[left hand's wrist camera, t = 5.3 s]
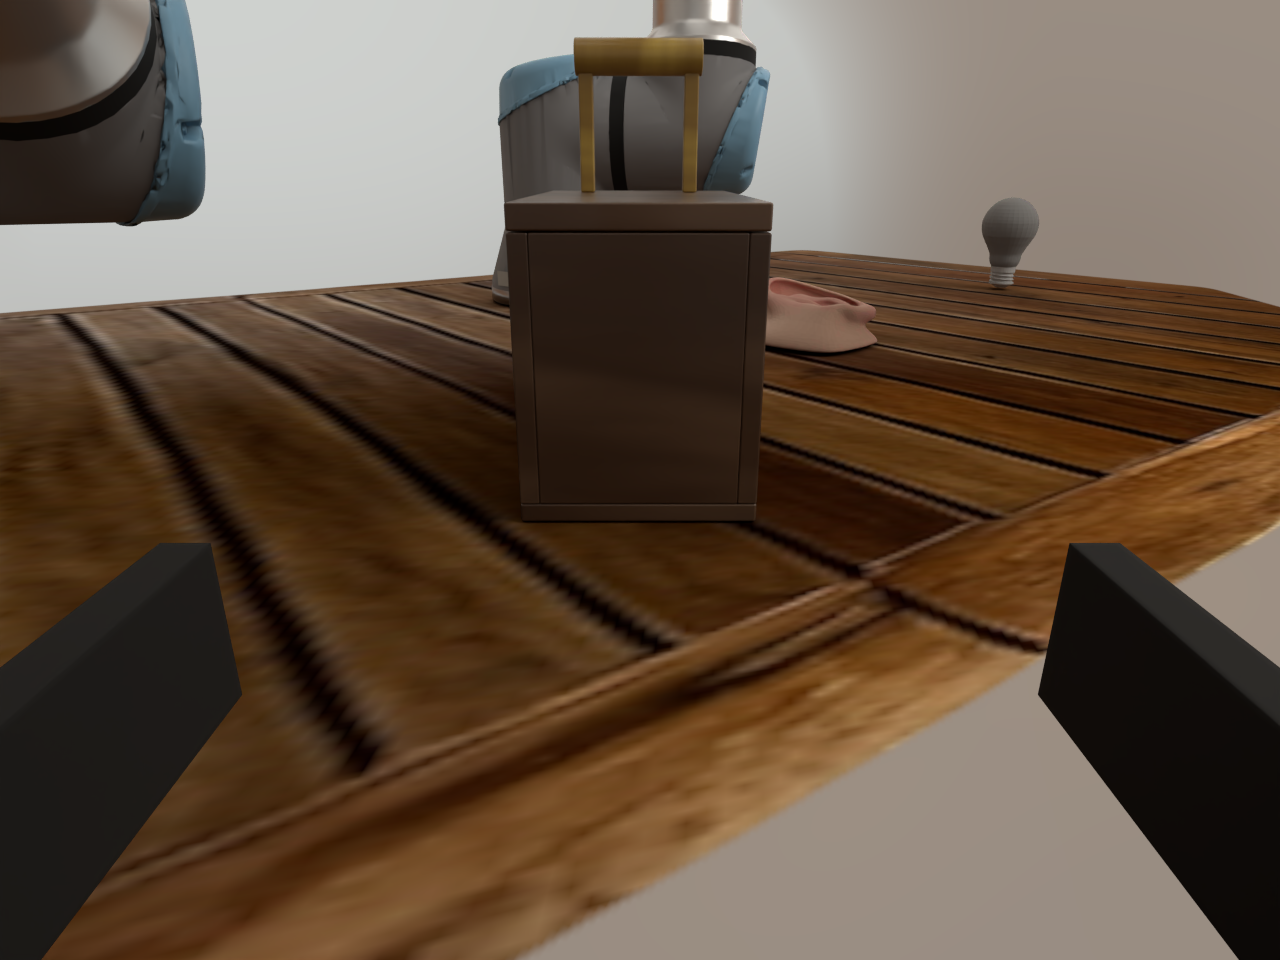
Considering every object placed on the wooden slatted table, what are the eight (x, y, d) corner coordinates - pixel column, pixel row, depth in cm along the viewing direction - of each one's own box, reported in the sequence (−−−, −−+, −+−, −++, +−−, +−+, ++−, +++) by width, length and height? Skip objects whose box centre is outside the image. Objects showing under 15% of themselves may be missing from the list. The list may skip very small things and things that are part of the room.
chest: (559, 408, 48) (551, 210, 44) (717, 408, 48) (725, 210, 44) (521, 521, 33) (505, 232, 29) (755, 521, 33) (772, 232, 29)
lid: (552, 209, 45) (547, 47, 42) (724, 209, 45) (730, 47, 42) (505, 231, 29) (490, -28, 26) (772, 231, 29) (786, -27, 26)
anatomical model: (870, 303, 59) (719, 294, 63) (865, 357, 60) (717, 344, 64) (893, 281, 70) (764, 274, 74) (888, 327, 72) (761, 318, 76)
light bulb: (980, 290, 93) (994, 198, 90) (967, 283, 99) (979, 196, 95) (1035, 291, 93) (1051, 198, 89) (1018, 284, 98) (1033, 196, 95)
